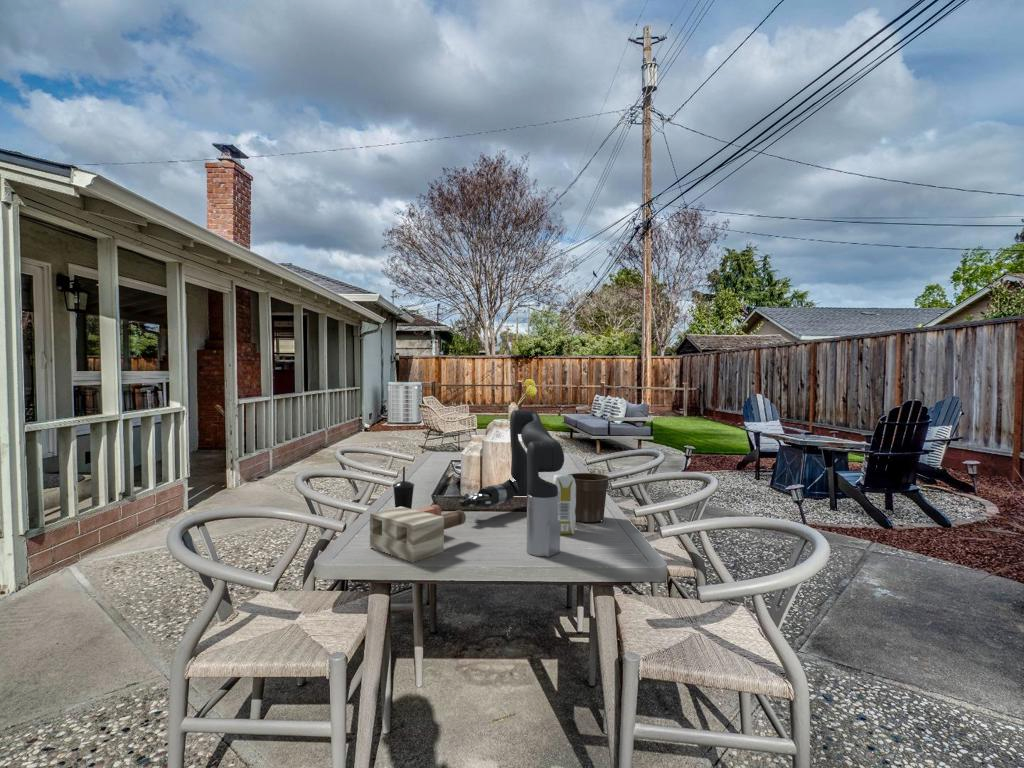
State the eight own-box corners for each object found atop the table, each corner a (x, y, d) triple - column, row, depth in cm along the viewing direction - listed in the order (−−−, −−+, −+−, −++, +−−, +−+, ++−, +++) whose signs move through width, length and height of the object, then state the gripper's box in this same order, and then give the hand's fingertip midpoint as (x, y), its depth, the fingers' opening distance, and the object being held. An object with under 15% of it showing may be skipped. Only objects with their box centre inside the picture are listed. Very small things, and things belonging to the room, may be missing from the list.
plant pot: (563, 513, 201) (564, 471, 201) (604, 513, 201) (605, 472, 201) (567, 524, 185) (568, 479, 185) (612, 525, 185) (613, 480, 184)
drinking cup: (418, 521, 185) (419, 466, 185) (403, 526, 179) (404, 469, 179) (402, 518, 189) (403, 464, 189) (387, 523, 183) (388, 467, 183)
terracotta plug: (441, 519, 172) (441, 505, 171) (403, 530, 158) (403, 515, 158) (431, 517, 174) (432, 503, 174) (393, 527, 161) (393, 512, 161)
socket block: (443, 551, 153) (444, 516, 153) (412, 562, 144) (413, 525, 144) (400, 538, 165) (401, 506, 165) (369, 548, 156) (370, 513, 156)
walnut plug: (465, 525, 165) (465, 511, 165) (427, 537, 152) (427, 521, 152) (455, 522, 168) (455, 508, 168) (417, 534, 155) (417, 519, 154)
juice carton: (553, 535, 171) (554, 478, 171) (551, 528, 180) (552, 473, 180) (576, 535, 171) (577, 478, 171) (572, 528, 180) (573, 474, 180)
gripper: (479, 483, 200) (448, 490, 187) (506, 488, 192) (475, 496, 178) (479, 502, 200) (447, 511, 187) (505, 508, 192) (474, 517, 179)
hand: (461, 504), depth 183 cm, fingers closed
